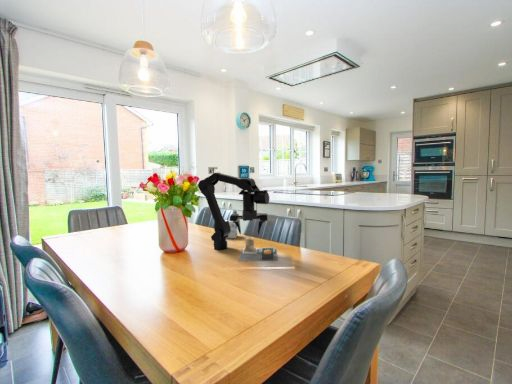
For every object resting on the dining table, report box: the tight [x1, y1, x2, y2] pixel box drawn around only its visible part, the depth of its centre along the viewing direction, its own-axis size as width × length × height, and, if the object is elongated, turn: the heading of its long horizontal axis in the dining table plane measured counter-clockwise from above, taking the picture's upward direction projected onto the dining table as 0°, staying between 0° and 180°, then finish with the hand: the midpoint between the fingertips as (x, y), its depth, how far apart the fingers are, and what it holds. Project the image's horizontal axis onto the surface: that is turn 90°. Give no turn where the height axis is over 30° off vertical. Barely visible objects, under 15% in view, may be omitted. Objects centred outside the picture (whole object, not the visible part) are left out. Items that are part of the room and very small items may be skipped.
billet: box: [245, 236, 255, 252], centre depth 133 cm, size 4×4×7 cm
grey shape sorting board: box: [238, 247, 278, 262], centre depth 128 cm, size 18×18×4 cm
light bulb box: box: [224, 219, 238, 239], centre depth 168 cm, size 11×7×11 cm, turn 84°
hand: (249, 234), depth 132 cm, fingers open, 9 cm apart
